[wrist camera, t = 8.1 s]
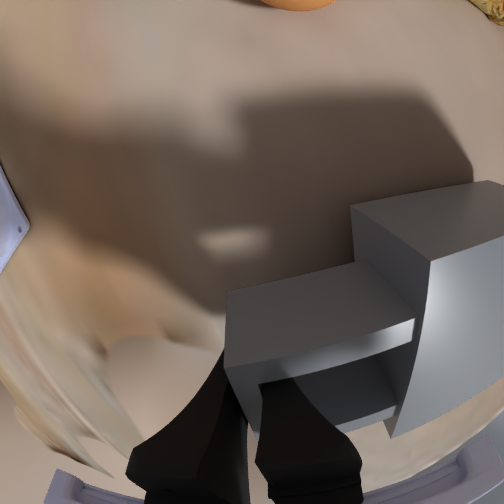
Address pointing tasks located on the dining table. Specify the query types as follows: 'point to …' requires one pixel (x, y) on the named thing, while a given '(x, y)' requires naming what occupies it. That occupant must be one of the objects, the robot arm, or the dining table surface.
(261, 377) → the grey stepped block
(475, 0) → the croissant
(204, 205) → the dining table surface
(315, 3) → the egg
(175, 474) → the robot arm
